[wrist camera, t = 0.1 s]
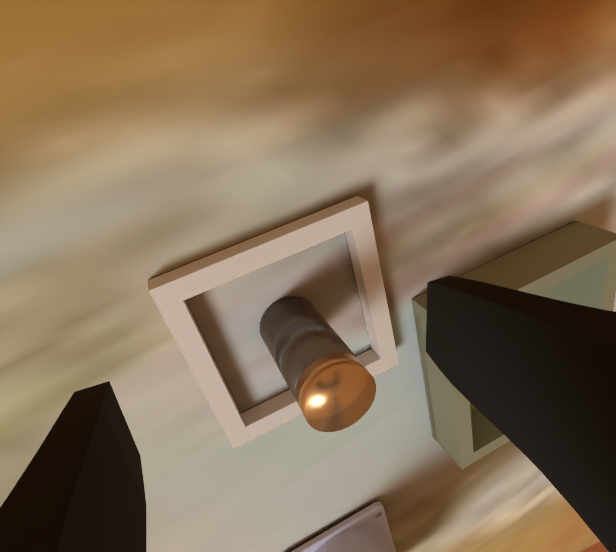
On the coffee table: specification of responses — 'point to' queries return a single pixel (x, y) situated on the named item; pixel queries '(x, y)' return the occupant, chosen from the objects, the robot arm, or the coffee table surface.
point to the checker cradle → (255, 255)
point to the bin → (531, 279)
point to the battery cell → (316, 365)
